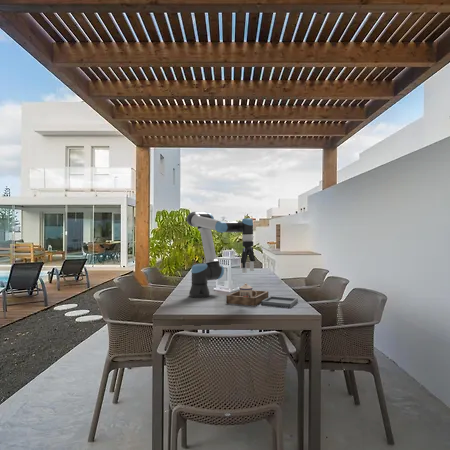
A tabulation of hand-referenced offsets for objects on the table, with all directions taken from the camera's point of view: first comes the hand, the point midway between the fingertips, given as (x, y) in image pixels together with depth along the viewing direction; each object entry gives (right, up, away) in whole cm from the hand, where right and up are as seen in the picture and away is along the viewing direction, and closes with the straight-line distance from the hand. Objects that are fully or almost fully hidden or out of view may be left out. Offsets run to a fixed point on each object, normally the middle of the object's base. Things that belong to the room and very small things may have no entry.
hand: (248, 271), depth 236 cm
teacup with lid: (0, -20, 0) cm, 20 cm away
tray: (+20, -20, -10) cm, 30 cm away
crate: (0, -20, 0) cm, 20 cm away
